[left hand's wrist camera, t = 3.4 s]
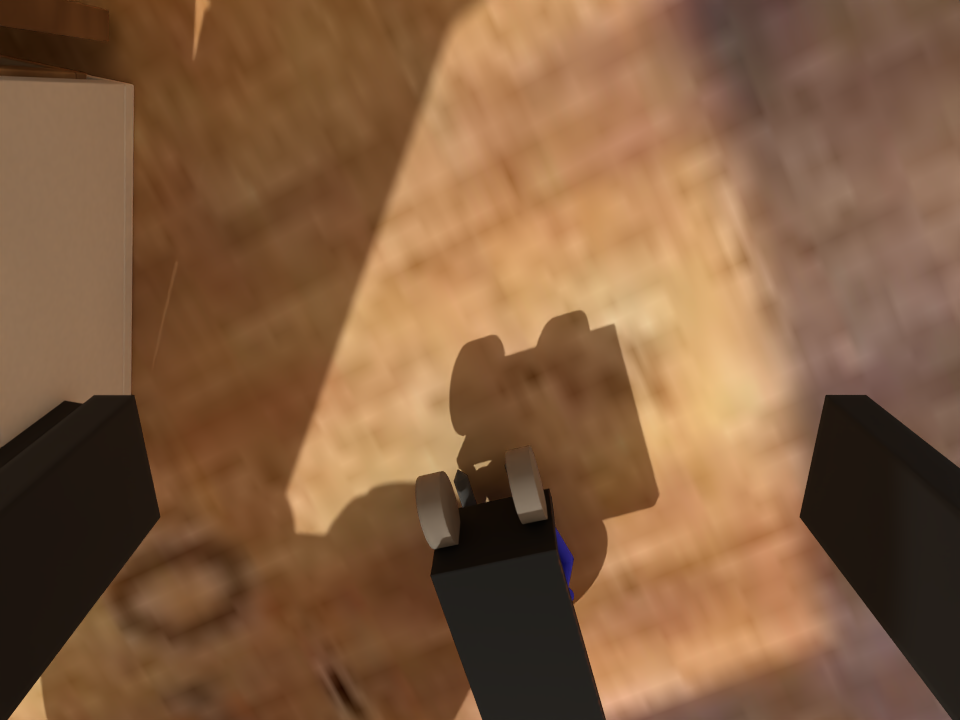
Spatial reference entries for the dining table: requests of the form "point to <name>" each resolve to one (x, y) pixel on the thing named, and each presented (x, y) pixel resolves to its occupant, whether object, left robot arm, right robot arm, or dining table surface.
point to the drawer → (51, 31)
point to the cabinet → (64, 244)
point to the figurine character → (509, 596)
